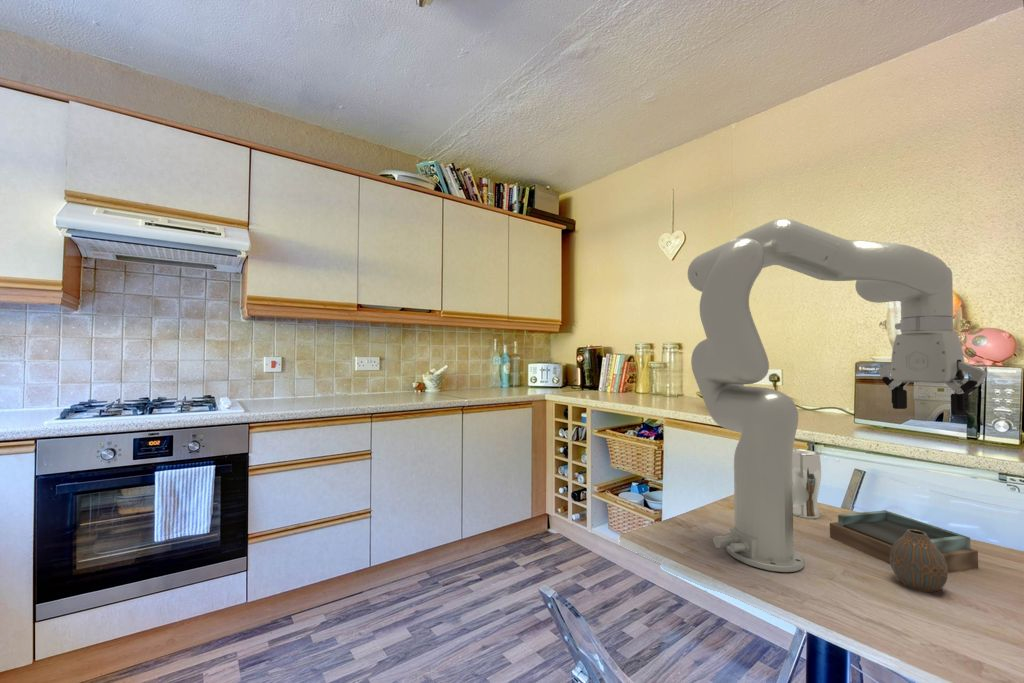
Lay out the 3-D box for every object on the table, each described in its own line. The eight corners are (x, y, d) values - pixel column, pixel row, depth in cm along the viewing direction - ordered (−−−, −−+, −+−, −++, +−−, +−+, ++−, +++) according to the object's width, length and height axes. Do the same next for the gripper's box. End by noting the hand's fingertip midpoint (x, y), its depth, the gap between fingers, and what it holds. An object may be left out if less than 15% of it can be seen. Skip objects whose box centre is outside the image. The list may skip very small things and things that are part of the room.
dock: (921, 576, 71) (920, 547, 72) (830, 537, 87) (829, 513, 87) (978, 568, 75) (977, 539, 75) (880, 531, 90) (880, 508, 90)
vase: (916, 574, 72) (915, 523, 72) (961, 597, 65) (959, 540, 66) (878, 575, 72) (877, 523, 72) (919, 597, 65) (918, 540, 65)
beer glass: (810, 509, 103) (809, 449, 104) (828, 520, 96) (827, 455, 97) (780, 508, 104) (780, 448, 105) (797, 518, 97) (796, 454, 98)
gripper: (866, 329, 92) (867, 406, 91) (970, 322, 75) (972, 417, 74) (891, 330, 94) (892, 406, 93) (997, 324, 77) (999, 417, 76)
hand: (927, 411), depth 84 cm, fingers open, 9 cm apart
